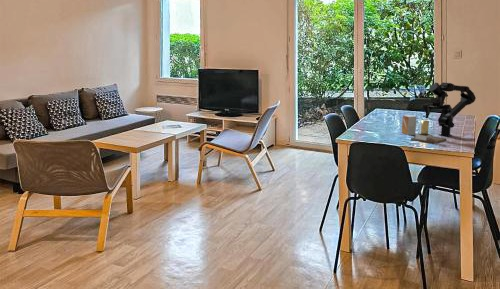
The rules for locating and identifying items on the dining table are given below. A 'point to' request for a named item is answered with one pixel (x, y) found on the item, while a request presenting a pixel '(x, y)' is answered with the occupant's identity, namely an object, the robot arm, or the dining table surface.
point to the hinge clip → (424, 137)
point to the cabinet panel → (432, 141)
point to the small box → (409, 124)
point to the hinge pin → (424, 127)
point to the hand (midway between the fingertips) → (433, 118)
